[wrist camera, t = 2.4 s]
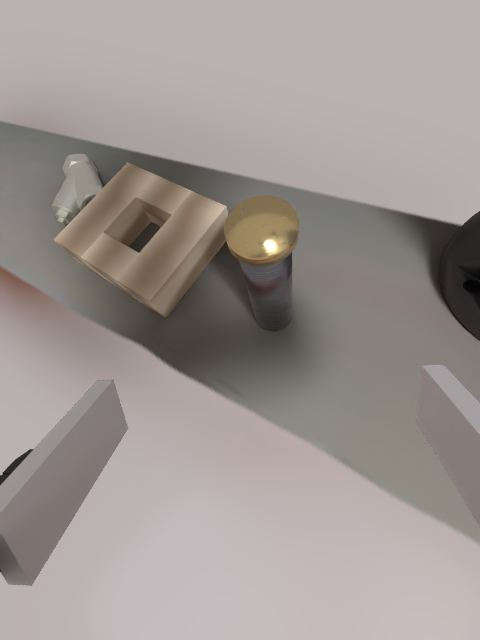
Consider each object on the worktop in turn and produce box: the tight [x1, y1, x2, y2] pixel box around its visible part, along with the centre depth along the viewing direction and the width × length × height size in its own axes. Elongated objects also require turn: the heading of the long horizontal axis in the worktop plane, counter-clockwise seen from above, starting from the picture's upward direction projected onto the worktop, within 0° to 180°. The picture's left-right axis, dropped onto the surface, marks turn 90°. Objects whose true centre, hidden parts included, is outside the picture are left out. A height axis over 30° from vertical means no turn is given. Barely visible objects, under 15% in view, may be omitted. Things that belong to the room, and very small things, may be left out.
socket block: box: [54, 162, 229, 318], centre depth 34 cm, size 14×12×4 cm
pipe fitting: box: [51, 154, 103, 226], centre depth 39 cm, size 8×4×7 cm
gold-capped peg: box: [224, 196, 299, 331], centre depth 25 cm, size 4×4×13 cm
